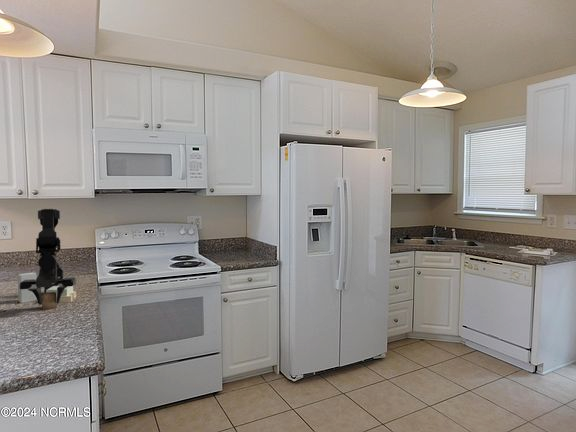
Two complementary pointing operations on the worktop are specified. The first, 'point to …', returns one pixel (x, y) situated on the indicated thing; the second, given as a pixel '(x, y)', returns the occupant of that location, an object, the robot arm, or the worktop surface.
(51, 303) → the brown rounded cylinder
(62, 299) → the maple block
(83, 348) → the worktop surface
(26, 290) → the skincare box
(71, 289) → the sage block
